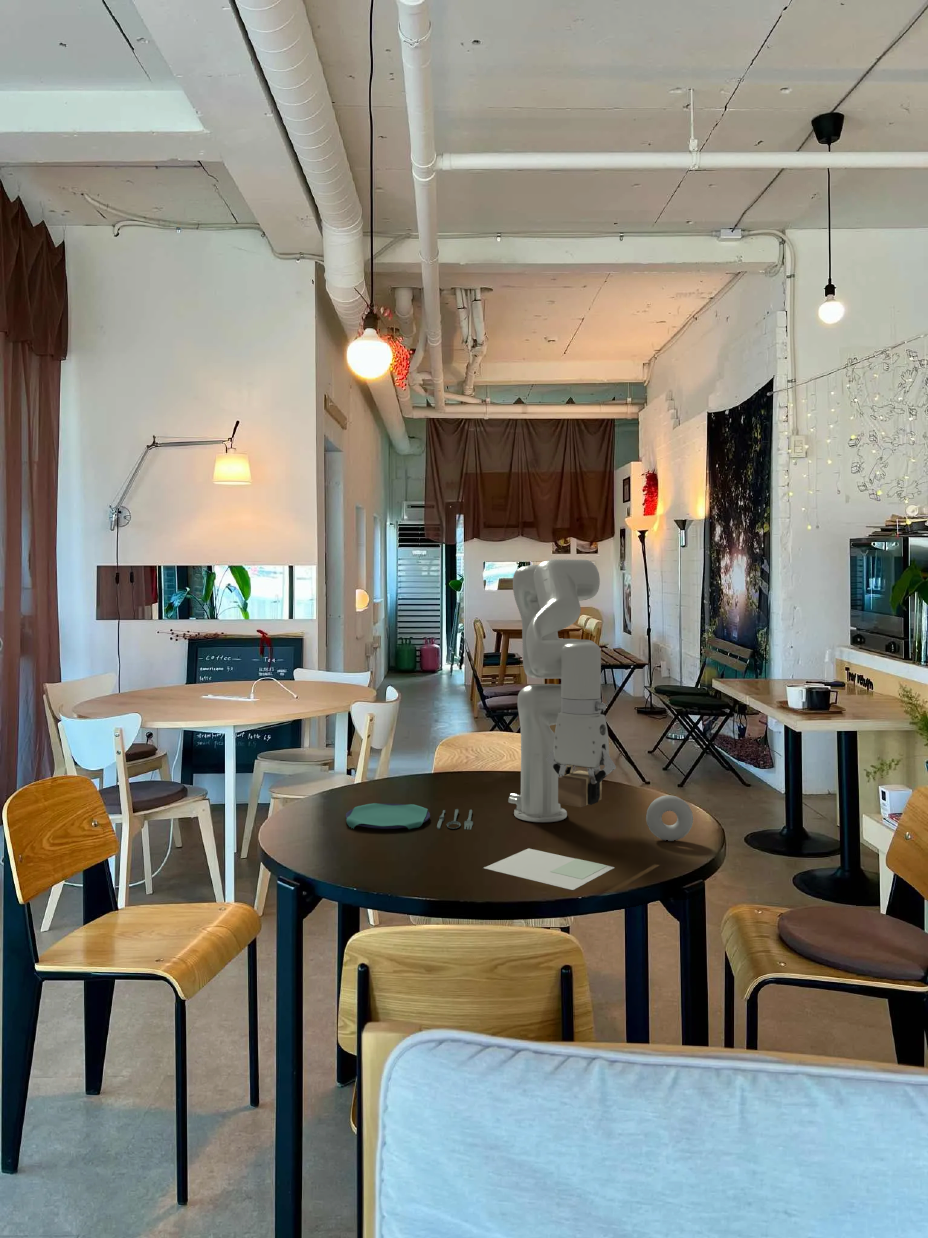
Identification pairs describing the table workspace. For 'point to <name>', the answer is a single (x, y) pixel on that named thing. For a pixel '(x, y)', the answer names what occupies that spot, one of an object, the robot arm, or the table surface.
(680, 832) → the donut
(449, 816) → the table surface
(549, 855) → the grey mat
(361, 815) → the cutlery set
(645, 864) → the table surface
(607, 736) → the robot arm
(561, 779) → the oak block
